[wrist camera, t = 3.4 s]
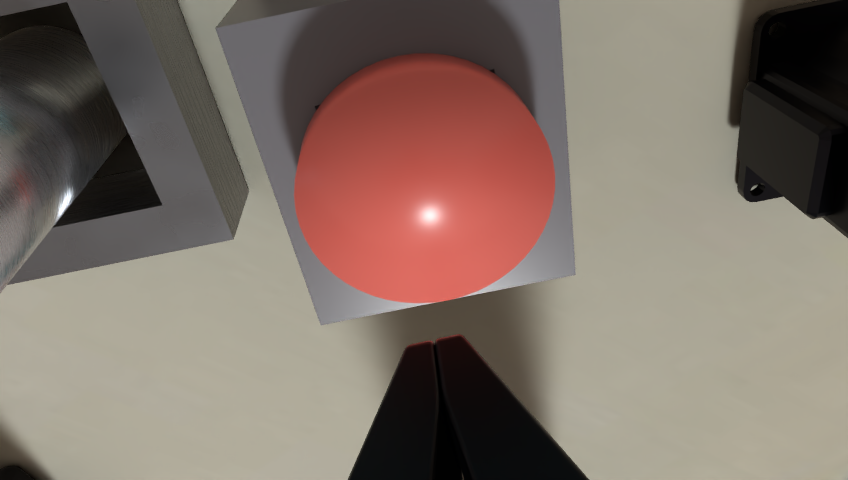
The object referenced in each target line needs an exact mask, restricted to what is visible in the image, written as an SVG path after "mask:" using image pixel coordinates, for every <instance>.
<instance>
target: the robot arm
mask: <svg viewBox="0 0 848 480" xmlns="http://www.w3.org/2000/svg"><path fill="white" fill-rule="evenodd" d="M776 22H778V28H777V30H776V31H775V32H774V33H773V34H771V35H769V30H770V27H771V26H772V25H773V24H774V23H776ZM737 158H738V159H739V160H740V167H739V176H738V186H737V188H738V192H739V194H740V195H741V196H742V197H743V198H744V199H746V200H747V201H749V202H758V201H763V200H768V199H773V198H778V197H783V196H784V197H785V198H786V199H787V200H789V201H790V202H791V203H792V204H793V205H795V206H796V207H797V208H798V209H799V210H801V211H802V212H803V213H804V214H806V215H807V216H808V217H809V218H812V219H816V218H821V217H822V218H824V219H825V220H826V221H827V222H829V223H830V224H831V225H832V226H834V227H835V228H836V229H837V230H839V231H840V232H841V233H842V234H843V235H845V236H846V237H847V238H848V0H818V1H813V2H808V3H804V4H799V5H794V6H789V7H784V8H779V9H774V10H771V11H768V12H766V13H764V14H763V15H762V16H761V17H760V18H759V19H758V21H757V22H756V24H755V28H754V33H753V42H752V52H751V62H750V71H749V81H748V84H747V85H746V87H745V89H744V91H743V100H742V110H741V120H740V130H739V140H738V150H737ZM757 183H759V184H758V186H757V187H756V188H755V189H753V190H751V188H752V187H753V186H754V185H755V184H757ZM750 190H751V191H750ZM463 478H464V480H589V479H588V478H587V477H586V475H585V474H584V473H583V472H582V471H581V470H580V469H579V467H578V466H577V465H576V464H575V463H574V462H573V461H572V459H571V458H570V457H569V456H568V455H567V454H566V453H565V451H564V450H563V449H562V448H561V447H560V446H559V445H558V443H557V442H556V441H555V440H554V439H553V438H552V437H551V435H550V434H549V433H548V432H547V431H546V430H545V429H544V427H543V426H542V425H541V424H540V423H539V422H538V421H537V419H536V418H535V417H534V416H533V415H532V414H531V413H530V411H529V410H528V409H527V408H526V407H525V406H524V405H523V403H522V402H521V401H520V400H519V399H518V398H517V397H516V395H515V394H514V393H513V392H512V391H511V390H510V389H509V387H508V386H507V385H506V384H505V383H504V382H503V381H502V379H501V378H500V377H499V376H498V375H497V374H496V372H495V371H494V370H493V369H492V368H491V367H490V366H489V364H488V363H487V362H486V361H485V360H484V359H483V358H482V356H481V355H480V354H479V353H478V352H477V351H476V350H475V348H474V347H473V346H472V345H471V344H470V343H469V342H468V340H467V339H466V338H465V337H464V336H462V335H460V334H457V335H452V336H448V337H443V338H439V339H437V340H436V342H435V344H434V342H433V341H425V342H420V343H416V344H411V345H408V346H407V347H406V348H405V350H404V352H403V354H402V357H401V359H400V361H399V363H398V366H397V368H396V370H395V373H394V375H393V377H392V380H391V382H390V384H389V386H388V389H387V391H386V393H385V396H384V398H383V400H382V402H381V405H380V407H379V409H378V412H377V414H376V416H375V418H374V421H373V423H372V425H371V428H370V430H369V432H368V434H367V437H366V439H365V441H364V444H363V446H362V448H361V451H360V453H359V455H358V457H357V460H356V462H355V464H354V467H353V469H352V471H351V473H350V476H349V478H348V480H463Z"/></svg>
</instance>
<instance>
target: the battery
mask: <svg viewBox="0 0 848 480" xmlns="http://www.w3.org/2000/svg"><path fill="white" fill-rule="evenodd" d="M0 480H34V479H32V478H31V477H30V476H29V475H27V474H26V473H25V472H24V471H22V470H21V469H20V468H18V467H17V466H9V467H6V468H3V469H0Z"/></svg>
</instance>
